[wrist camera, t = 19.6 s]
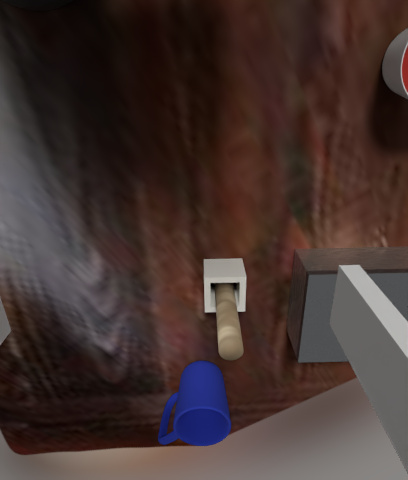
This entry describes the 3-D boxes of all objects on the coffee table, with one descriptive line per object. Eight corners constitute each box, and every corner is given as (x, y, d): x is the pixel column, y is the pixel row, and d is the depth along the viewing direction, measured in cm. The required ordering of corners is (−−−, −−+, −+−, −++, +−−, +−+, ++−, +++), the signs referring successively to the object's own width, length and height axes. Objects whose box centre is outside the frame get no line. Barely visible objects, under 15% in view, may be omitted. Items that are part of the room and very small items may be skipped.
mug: (149, 380, 58) (140, 435, 49) (206, 346, 55) (207, 398, 46) (180, 406, 61) (176, 464, 52) (236, 376, 58) (242, 431, 49)
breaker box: (286, 329, 54) (297, 362, 48) (294, 249, 48) (308, 274, 42) (401, 326, 54) (428, 359, 48) (424, 246, 48) (458, 271, 42)
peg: (214, 284, 50) (218, 360, 37) (213, 268, 49) (218, 341, 36) (231, 283, 50) (243, 360, 37) (232, 268, 49) (243, 340, 36)
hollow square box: (204, 291, 51) (204, 312, 46) (203, 259, 49) (204, 277, 44) (241, 290, 51) (245, 311, 46) (242, 258, 49) (246, 276, 44)
